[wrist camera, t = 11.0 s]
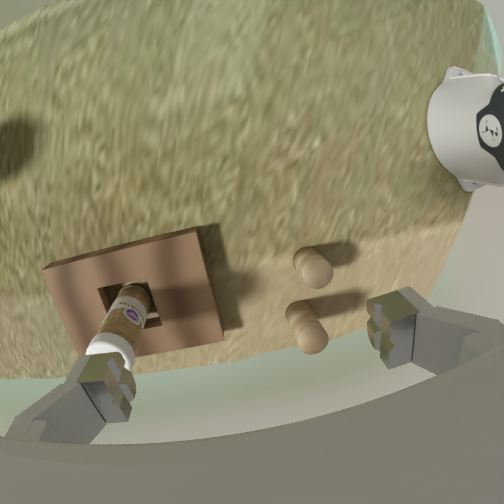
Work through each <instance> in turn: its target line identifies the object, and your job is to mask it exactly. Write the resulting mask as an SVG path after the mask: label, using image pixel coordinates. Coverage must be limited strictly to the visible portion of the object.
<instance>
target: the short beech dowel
mask: <svg viewBox="0 0 504 504" xmlns="http://www.w3.org/2000/svg"><path fill="white" fill-rule="evenodd" d="M293 265H294V267H295V269H296V270H297V271H298V273H299V274H300V275H301V277H302V278H303V280H304V281H305V282H306V284H307V285H308V286H309V287H311V288H314V289H320V288H323V287H325V286H327V285H328V284H329V283H330V281H331V280H332V277H333V268H332V266H331V264H330V263H329V262H328V261H327V260H326V259H325V258H324V257H323V256H322V255H320V254H319V253H318V252H317V251H316V250H315V249H314V248H312V247H303V248H301V249H299V250H298V251H297V252H296V253H295V255H294V257H293Z"/></svg>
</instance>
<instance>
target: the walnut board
mask: <svg viewBox="0 0 504 504" xmlns="http://www.w3.org/2000/svg"><path fill="white" fill-rule="evenodd" d="M42 273H43V275H44V278H45V281H46V283H47V286H48V288H49V291H50V293H51V296H52V298H53V301H54V303H55V306H56V308H57V310H58V313H59V315H60V317H61V320H62V322H63V324H64V326H65V328H66V331H67V333H68V335H69V337H70V339H71V341H72V343H73V345H74V347H75V349H76V351H77V353H78V355H79V357H80V356H82V355H86V350H87V348H88V346H89V344H90V342H91V340H92V339H93V337H94V336H95V335H96V334H97V333H98V331H99V329H100V326H101V324H102V322H103V320H104V318H105V317H106V315H107V313H108V311H109V309H110V308H111V306H112V304H111V301H110V298H109V296H108V293H107V290H106V286H110V285H115V284H119V283H124V282H128V281H133V280H137V279H142V278H146V279H147V282H148V285H149V288H150V291H151V294H152V297H153V300H154V303H155V306H156V308H157V311H158V314H159V317H156V318H151V319H146V322H145V325H144V328H143V331H142V334H141V335H140V338H139V341H138V344H137V347H136V350H135V353H134V356H135V357H139V356H145V355H151V354H157V353H163V352H168V351H174V350H179V349H184V348H190V347H195V346H200V345H205V344H210V343H215V342H220V341H224V331H223V327H222V323H221V319H220V316H219V312H218V308H217V305H216V301H215V297H214V293H213V290H212V286H211V282H210V278H209V274H208V270H207V266H206V262H205V258H204V254H203V250H202V246H201V242H200V238H199V234H198V230H197V227H193V228H188V229H184V230H180V231H176V232H171V233H167V234H163V235H159V236H155V237H151V238H146V239H142V240H138V241H134V242H130V243H126V244H122V245H118V246H114V247H110V248H106V249H102V250H99V251H95V252H91V253H87V254H83V255H80V256H76V257H72V258H68V259H65V260H61V261H57V262H54V263H50V264H49V265H47V266H46V267H45V268H44V269H43V270H42Z"/></svg>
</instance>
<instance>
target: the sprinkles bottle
mask: <svg viewBox="0 0 504 504" xmlns="http://www.w3.org/2000/svg"><path fill="white" fill-rule="evenodd" d="M150 308H151V299H150V296H149V294H148V293H147V292H146V290H145V289H143V288H142V287H140V286H137V285H127V286H125V287H123V288H122V289H121V290H120V291H119V292H118V295H117V298H116V300H115V301H114V302H113V304H112V306H111V308H110V309H109V311H108V313H107V315H106V317H105V318H104V320H103V322H102V324H101V326H100V329H99V331H98V333H97V334H96V335H95V336H94V337H93V339H92V340H91V342H90V344H89V346H88V348H87V350H86V355H90V354H100V353H109V352H119V353H121V354H122V356H123V358H124V360H125V361H126V362H125V365H124V367H125V368H126V369H127V370H129V371H131V369H132V366H133V363H134V359H135V356H134V353H135V350H136V347H137V344H138V341H139V338H140V335H141V334H142V331H143V328H144V325H145V322H146V318H147V313H148V312H149V310H150Z"/></svg>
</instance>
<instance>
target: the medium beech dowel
mask: <svg viewBox="0 0 504 504" xmlns="http://www.w3.org/2000/svg"><path fill="white" fill-rule="evenodd" d="M286 318H287V320H288V323H289V325H290V327H291V329H292V331H293V333H294V336H295V338H296V340H297V342H298V344H299V347H300V349H301V350H302V351H303V352H304V353H306V354H317V353H319V352H321V351H322V350H323V349H324V348H325V347H326V346H327V344H328V340H329V338H328V334H327V333H326V331H325V330H324V328H323V326H322V325H321V323H320V322H319V320H318V319H317V317H316V315H315V314H314V312H313V311H312V309H311V308H310V306H309V305H308V304H307V303H306V302H304V301H296V302H293V303H292V304H290V305H289V306H288V308H287V310H286Z"/></svg>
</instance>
